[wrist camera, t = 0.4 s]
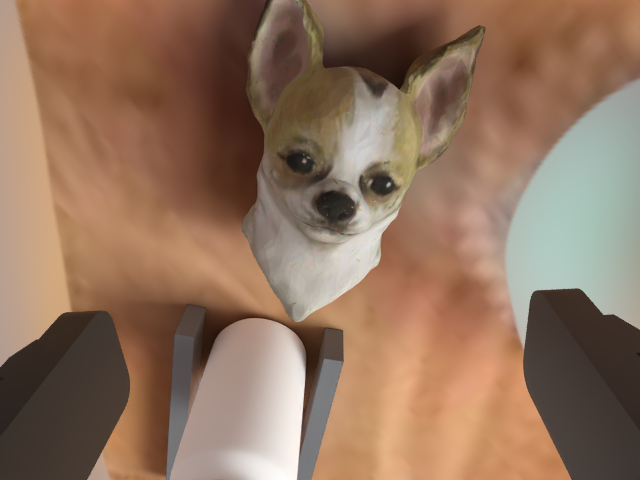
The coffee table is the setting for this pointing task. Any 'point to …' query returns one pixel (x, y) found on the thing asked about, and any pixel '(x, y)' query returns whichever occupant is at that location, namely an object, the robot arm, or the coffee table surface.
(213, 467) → the can
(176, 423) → the frame
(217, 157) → the coffee table surface
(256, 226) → the ceramic sculpture
